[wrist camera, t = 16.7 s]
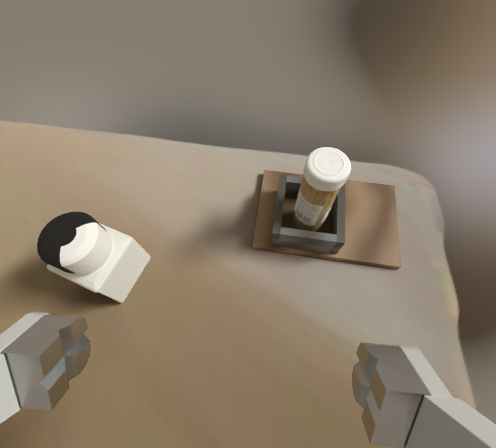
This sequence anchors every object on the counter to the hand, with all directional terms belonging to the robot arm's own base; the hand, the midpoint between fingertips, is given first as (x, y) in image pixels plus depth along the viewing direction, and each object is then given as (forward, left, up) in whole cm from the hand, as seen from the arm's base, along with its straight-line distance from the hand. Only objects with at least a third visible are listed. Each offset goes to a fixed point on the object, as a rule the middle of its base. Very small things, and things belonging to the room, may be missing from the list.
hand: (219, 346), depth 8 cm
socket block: (+9, +20, -28) cm, 36 cm away
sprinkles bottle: (+6, +19, -27) cm, 34 cm away
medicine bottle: (-19, +8, -28) cm, 35 cm away
